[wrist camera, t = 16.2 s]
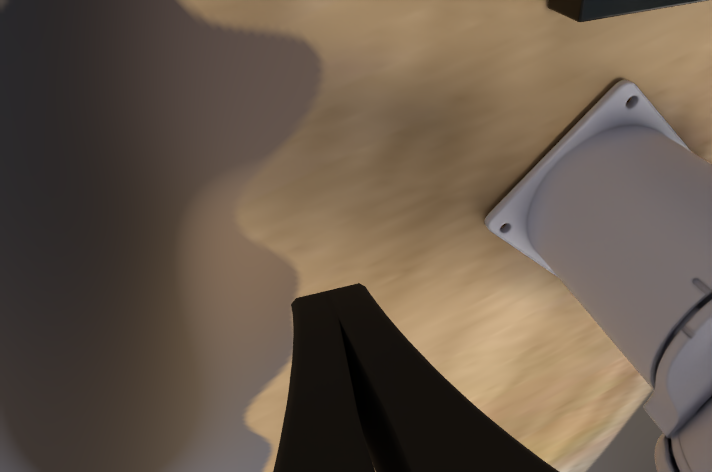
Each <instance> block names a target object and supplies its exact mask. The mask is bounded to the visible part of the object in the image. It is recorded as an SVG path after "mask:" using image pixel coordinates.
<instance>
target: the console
mask: <svg viewBox="0 0 712 472" xmlns="http://www.w3.org/2000/svg"><path fill="white" fill-rule="evenodd" d="M702 1H708V0H549V1H548V8H549V9H551V10H554V11H556V12H558V13H560V14H562V15H564V16H567V17H569V18H571V19H573V20H575V21H577V22H584V21H590V20H596V19H602V18H608V17H614V16H620V15H626V14H631V13H637V12H643V11H649V10H655V9H661V8H667V7H673V6H679V5H685V4H691V3H696V2H702Z"/></svg>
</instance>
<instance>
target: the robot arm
mask: <svg viewBox="0 0 712 472" xmlns="http://www.w3.org/2000/svg"><path fill="white" fill-rule="evenodd" d="M630 97H632V98H631V100H630V101H629V102H628V103H627V104H626V102H627V100H628V99H629V98H630ZM506 223H507V224H506ZM503 224H506V225H505V226H504V227H502V228H501V226H502V225H503ZM485 225H486V226H487V228H488V229H489V230H490V231H491V232H492V233H494V234H495V235H497V236H498V237H500V238H501V239H503V240H504V241H506V242H507V243H509V244H510V245H512V246H513V247H514V248H516V249H517V250H519V251H520V252H522V253H523V254H525V255H526V256H528V257H529V258H531V259H532V260H534V261H535V262H536V263H538V264H539V265H541V266H542V267H544V268H545V269H547V270H548V271H550V272H551V273H553V274H554V275H556V276H557V277H558V278H559V279H560V280H561V281H562V282H563V283H564V285H565V286H566V287H567V288H568V289H569V291H570V292H571V293H572V294H573V295H574V296H575V298H576V299H577V300H578V301H579V302H580V304H581V305H582V306H583V307H584V308H585V309H586V311H587V312H588V313H589V314H590V315H591V317H592V318H593V319H594V320H595V321H596V322H597V324H598V325H599V326H600V327H601V328H602V330H603V331H604V332H605V333H606V334H607V335H608V337H609V338H610V339H611V340H612V341H613V343H614V344H615V345H616V346H617V347H618V349H619V350H620V351H621V352H622V353H623V354H624V356H625V357H626V358H627V359H628V360H629V362H630V363H631V364H632V365H633V366H634V367H635V369H636V370H637V371H638V372H639V373H640V375H641V376H642V377H643V378H644V379H645V380H646V382H647V383H648V384H649V385H650V386H651V388H652V389H653V390H654V391H653V394H652V395H651V397H650V399H649V400H648V401H647V402H646V404H645V405H644V409H645V410H646V412H647V413H648V414H649V416H650V417H651V418H652V419H653V421H654V422H655V423H656V424H657V426H658V427H659V428H660V429H661V431H662V432H663V434H662V435H661V436H660V437H659V439H658V441H657V444H656V447H655V462H656V467H657V472H712V164H711V163H709V162H708V161H706V160H704V159H703V158H701V157H699V156H698V155H696V154H695V153H693V152H691V150H690V149H689V148H688V147H687V146H686V144H685V143H684V142H683V141H682V140H681V138H680V137H679V136H678V135H677V134H676V132H675V131H674V130H673V129H672V128H671V126H670V125H669V124H668V123H667V122H666V120H665V119H664V118H663V117H662V116H661V114H660V113H659V112H658V111H657V110H656V108H655V107H654V106H653V105H652V104H651V102H650V101H649V100H648V99H647V98H646V96H645V95H644V94H643V93H642V92H641V90H640V89H639V88H638V87H637V86H636V84H634V83H632V82H631V81H629V80H621V81H619V82H617V83H616V84H615V85H614V86H613V87H612V88H611V89H610V90H609V91H608V92H607V93H606V94H605V95H604V96H603V97H602V98H601V99H600V100H599V101H598V102H597V103H596V104H595V105H594V106H593V107H592V108H591V109H590V110H589V111H588V112H587V113H586V114H585V115H584V116H583V118H582V119H581V120H580V121H579V122H578V123H577V124H576V125H575V126H574V127H573V128H572V129H571V130H570V131H569V132H568V133H567V134H566V135H565V136H564V137H563V138H562V139H561V140H560V141H559V142H558V143H557V144H556V145H555V146H554V147H553V148H552V149H551V150H550V151H549V152H548V153H547V154H546V155H545V156H544V157H543V158H542V159H541V160H540V162H539V163H538V164H537V165H536V166H535V167H534V168H533V169H532V170H531V171H530V172H529V173H528V174H527V175H526V176H525V177H524V178H523V179H522V180H521V181H520V182H519V183H518V184H517V185H516V186H515V187H514V188H513V189H512V190H511V191H510V192H509V193H508V194H507V195H506V196H505V197H504V198H503V199H502V200H501V201H500V202H499V203H498V204H497V205H496V207H495V208H494V209H493V210H492V211H491V212H490V213H489V214H488V215H487V216H486V218H485ZM291 306H292V312H293V326H294V338H293V357H292V367H291V376H290V384H289V393H288V400H287V406H286V412H285V417H284V422H283V428H282V433H281V439H280V444H279V449H278V453H277V458H276V462H275V467H274V471H273V472H375V471H376V472H559V471H557V470H556V469H554V468H553V467H552V466H550V465H549V464H547V463H546V462H545V461H543V460H542V459H541V458H539V457H538V456H537V455H535V454H534V453H533V452H531V451H530V450H529V449H527V448H526V447H525V446H523V445H522V444H521V443H520V442H518V441H517V440H516V439H514V438H513V437H512V436H511V435H509V434H508V433H507V432H506V431H504V430H503V429H502V428H501V427H500V426H498V425H497V424H496V423H495V422H493V421H492V420H491V419H490V418H489V417H487V416H486V415H485V414H484V413H483V412H482V411H480V410H479V409H478V408H477V407H476V406H475V405H474V404H472V403H471V402H470V401H469V400H468V399H467V398H466V397H465V396H464V395H462V394H461V393H460V392H459V391H458V390H457V389H456V388H455V387H454V386H453V385H452V384H451V383H450V382H449V381H447V380H446V379H445V378H444V377H443V376H442V375H441V374H440V373H439V372H438V371H437V370H436V369H435V368H434V367H433V366H432V365H431V364H430V363H429V362H428V361H427V360H426V359H425V357H424V356H423V355H422V354H421V353H420V352H419V351H418V350H417V349H416V348H415V347H414V346H413V345H412V344H411V343H410V342H409V341H408V340H407V338H406V337H405V336H404V335H403V334H402V333H401V332H400V331H399V329H398V328H397V327H396V326H395V325H394V324H393V322H392V321H391V320H390V319H389V318H388V316H387V315H386V314H385V313H384V312H383V310H382V309H381V308H380V306H379V305H378V304H377V303H376V301H375V300H374V298H373V297H372V296H371V294H370V293H369V292H368V290H367V289H366V287H365V286H363V285H361V284H360V283H358V284H354V285H350V286H346V287H341V288H337V289H333V290H329V291H325V292H320V293H316V294H312V295H308V296H304V297H299V298H296V299H295V300H294V301H293V303H292V304H291ZM374 468H375V469H374Z"/></svg>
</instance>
